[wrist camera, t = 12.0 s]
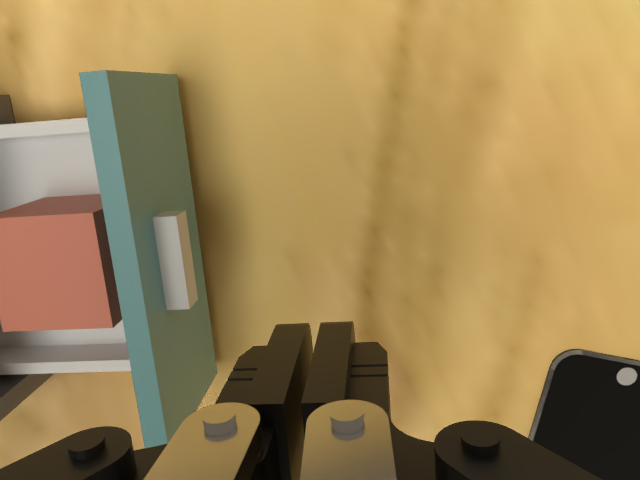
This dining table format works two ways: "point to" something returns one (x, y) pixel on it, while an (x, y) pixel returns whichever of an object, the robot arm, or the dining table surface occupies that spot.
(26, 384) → the housing
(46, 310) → the block
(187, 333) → the drawer
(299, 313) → the dining table surface
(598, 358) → the smartphone
